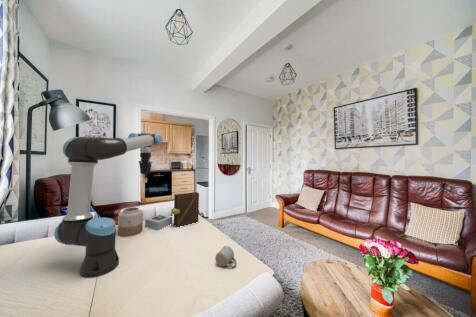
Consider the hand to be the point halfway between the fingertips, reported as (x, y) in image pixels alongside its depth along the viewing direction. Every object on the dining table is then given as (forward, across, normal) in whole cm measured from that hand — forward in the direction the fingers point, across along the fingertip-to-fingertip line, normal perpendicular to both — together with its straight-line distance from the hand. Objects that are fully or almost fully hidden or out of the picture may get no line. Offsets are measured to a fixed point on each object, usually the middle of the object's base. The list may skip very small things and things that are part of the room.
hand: (144, 182), depth 140 cm
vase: (+35, -2, +12) cm, 37 cm away
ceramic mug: (+35, -82, +13) cm, 90 cm away
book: (+35, -26, -18) cm, 47 cm away
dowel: (+34, -10, -6) cm, 36 cm away
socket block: (+34, -10, -6) cm, 36 cm away
